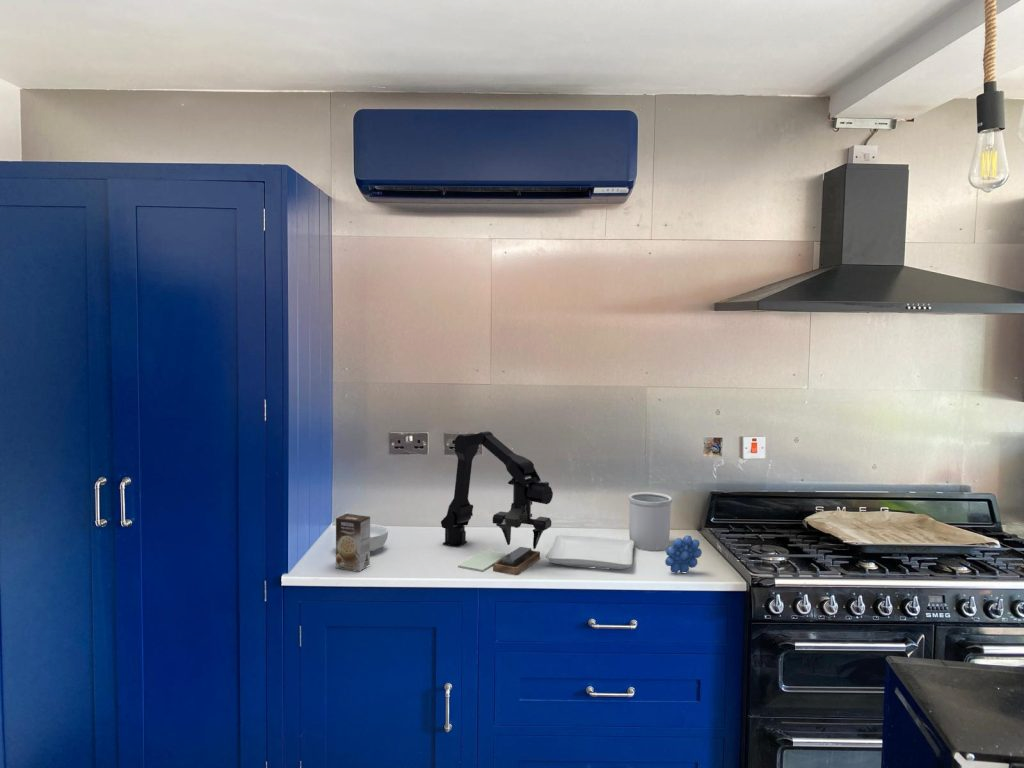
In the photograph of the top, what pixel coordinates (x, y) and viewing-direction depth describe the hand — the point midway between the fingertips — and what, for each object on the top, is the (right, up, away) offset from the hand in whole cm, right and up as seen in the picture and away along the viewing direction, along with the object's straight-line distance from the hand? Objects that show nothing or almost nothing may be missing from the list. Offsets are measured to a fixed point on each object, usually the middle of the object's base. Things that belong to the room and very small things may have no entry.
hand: (521, 546), depth 216 cm
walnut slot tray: (-1, -5, -2) cm, 6 cm away
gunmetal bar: (-1, -5, -2) cm, 5 cm away
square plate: (+23, -6, +6) cm, 25 cm away
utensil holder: (+46, -5, +20) cm, 50 cm away
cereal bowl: (-54, -4, +10) cm, 55 cm away
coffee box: (-53, -5, -7) cm, 54 cm away
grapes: (+50, -6, -8) cm, 51 cm away
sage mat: (-12, -5, +1) cm, 13 cm away
